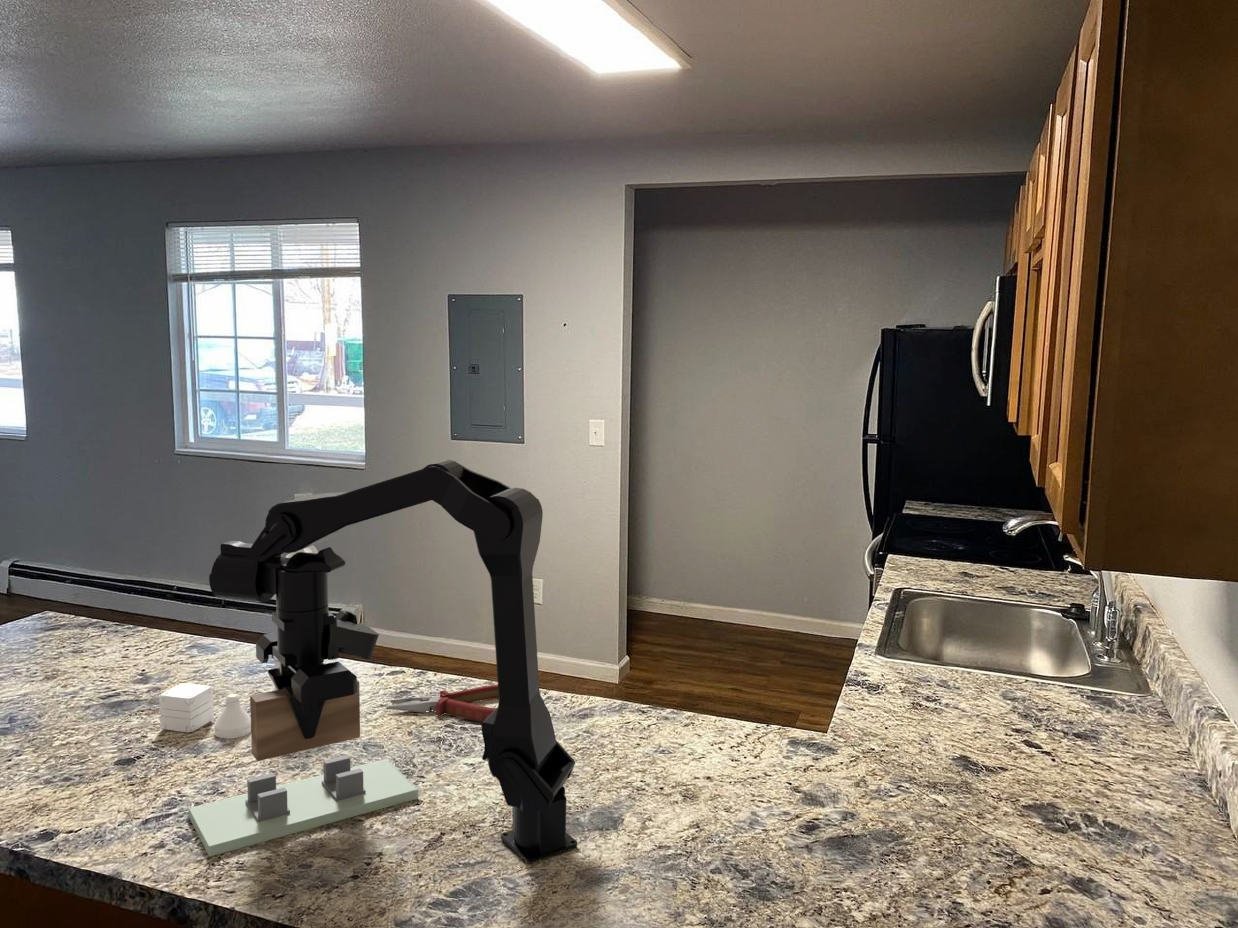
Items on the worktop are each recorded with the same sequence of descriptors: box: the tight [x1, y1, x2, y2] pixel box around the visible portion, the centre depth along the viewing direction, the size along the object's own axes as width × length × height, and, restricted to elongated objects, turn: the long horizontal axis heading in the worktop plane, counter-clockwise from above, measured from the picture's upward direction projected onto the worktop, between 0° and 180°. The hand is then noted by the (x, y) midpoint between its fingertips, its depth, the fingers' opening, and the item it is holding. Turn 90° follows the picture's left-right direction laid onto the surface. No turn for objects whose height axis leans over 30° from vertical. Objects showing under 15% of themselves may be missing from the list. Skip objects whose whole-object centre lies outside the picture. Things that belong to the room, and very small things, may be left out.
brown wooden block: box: [249, 679, 361, 762], centre depth 112 cm, size 2×12×7 cm, turn 126°
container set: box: [158, 682, 251, 739], centre depth 134 cm, size 20×5×6 cm, turn 77°
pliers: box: [386, 684, 499, 723], centre depth 144 cm, size 12×20×3 cm, turn 94°
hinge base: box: [188, 754, 419, 858], centre depth 113 cm, size 10×24×4 cm, turn 126°
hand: (305, 733), depth 112 cm, fingers closed on brown wooden block, 2 cm apart
